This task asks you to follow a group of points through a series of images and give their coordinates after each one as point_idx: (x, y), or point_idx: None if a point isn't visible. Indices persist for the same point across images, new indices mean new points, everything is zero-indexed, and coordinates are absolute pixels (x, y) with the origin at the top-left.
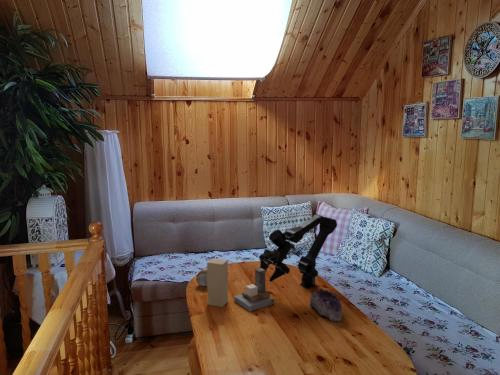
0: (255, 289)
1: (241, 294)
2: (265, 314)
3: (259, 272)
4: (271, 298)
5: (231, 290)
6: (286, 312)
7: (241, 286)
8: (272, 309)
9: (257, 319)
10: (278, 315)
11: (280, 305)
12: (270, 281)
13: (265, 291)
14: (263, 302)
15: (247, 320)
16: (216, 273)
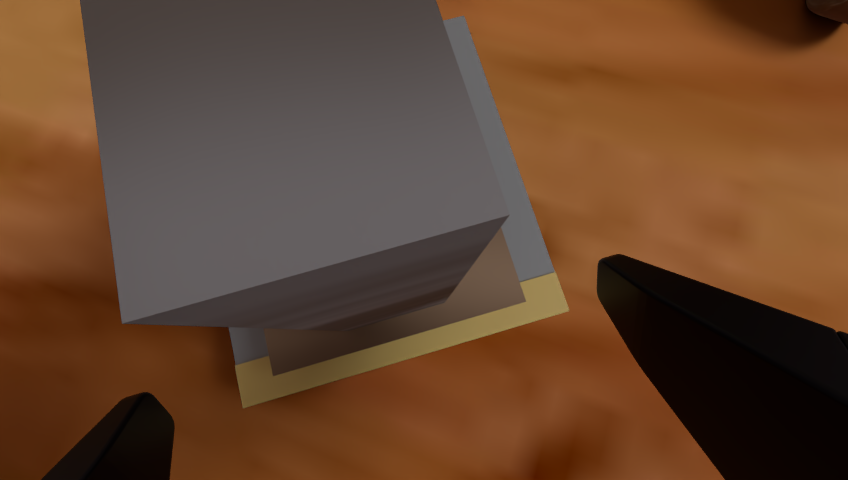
0: None
1: (483, 90)
2: (91, 226)
3: (113, 31)
4: (255, 377)
5: (703, 88)
6: (23, 449)
7: (788, 208)
8: (153, 330)
9: (42, 129)
10: (9, 339)
11: (199, 452)
12: (147, 416)
13: (364, 340)
14: None
15: (68, 50)
16: None
